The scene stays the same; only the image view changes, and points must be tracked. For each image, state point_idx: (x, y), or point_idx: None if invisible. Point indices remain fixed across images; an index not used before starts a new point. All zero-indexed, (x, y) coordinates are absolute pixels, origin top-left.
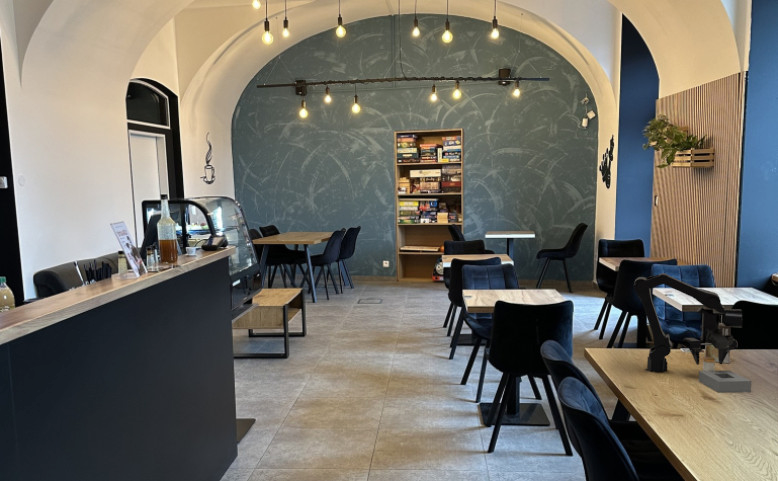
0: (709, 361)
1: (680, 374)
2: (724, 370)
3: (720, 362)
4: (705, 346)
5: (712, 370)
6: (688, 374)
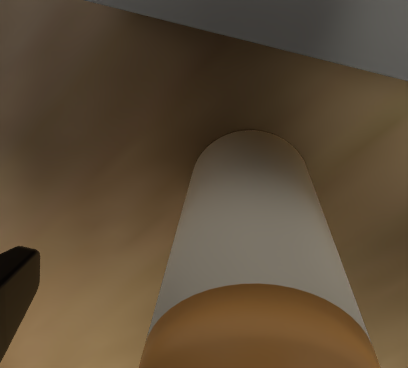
0: (353, 335)
1: (383, 353)
2: (161, 17)
3: (23, 281)
4: None
5: (266, 189)
6: None
